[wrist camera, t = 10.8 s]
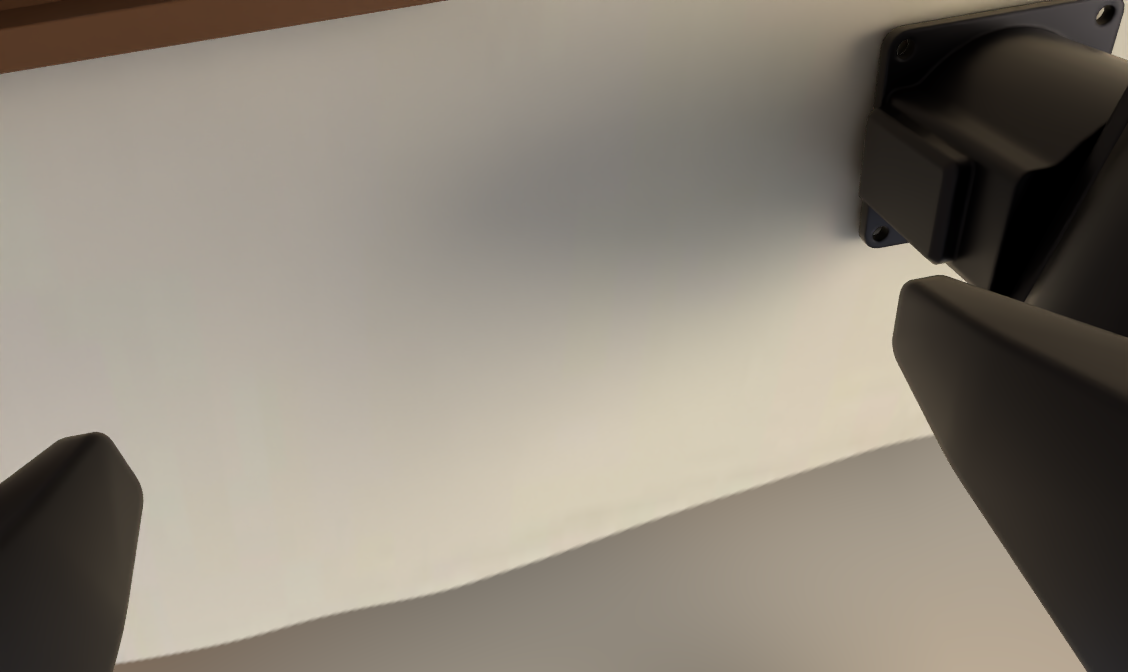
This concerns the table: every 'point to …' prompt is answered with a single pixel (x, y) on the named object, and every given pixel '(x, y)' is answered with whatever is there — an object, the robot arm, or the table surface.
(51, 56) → the tray
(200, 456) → the table surface
